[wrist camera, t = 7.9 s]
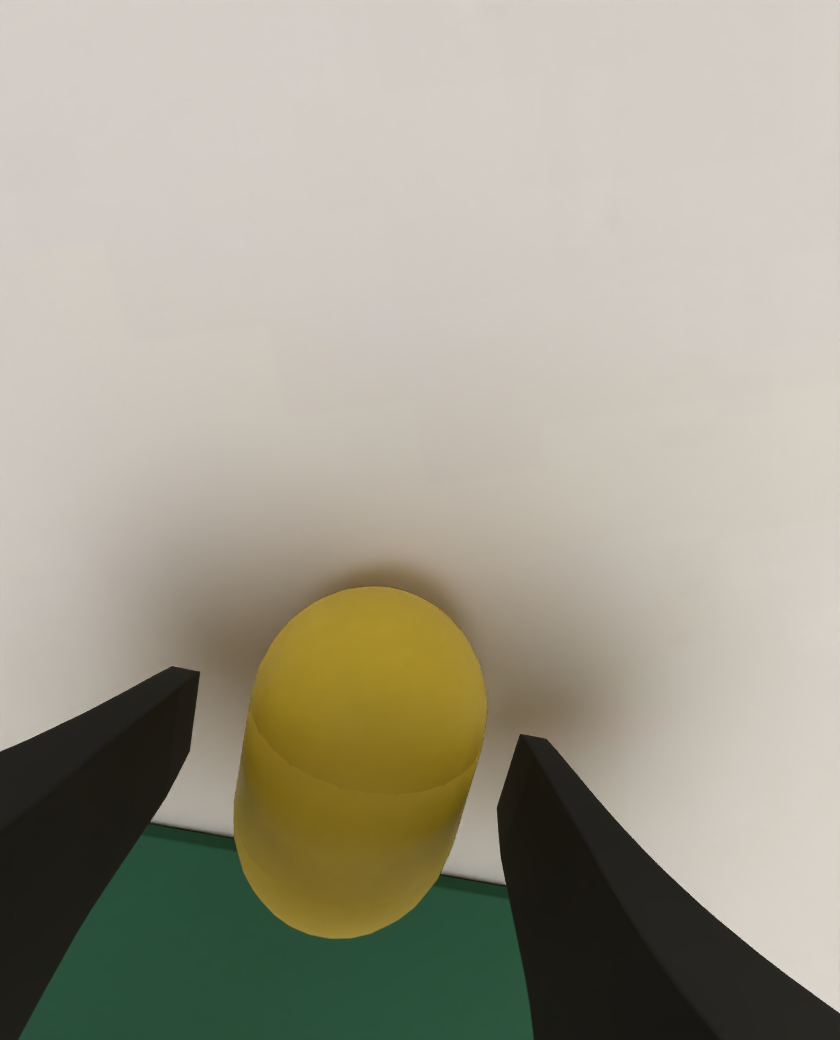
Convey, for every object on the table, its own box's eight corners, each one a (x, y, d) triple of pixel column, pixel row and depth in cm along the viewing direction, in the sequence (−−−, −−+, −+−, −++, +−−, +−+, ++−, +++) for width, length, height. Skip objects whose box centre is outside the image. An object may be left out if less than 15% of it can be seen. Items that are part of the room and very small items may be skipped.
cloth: (546, 1170, 18) (549, 1187, 17) (-34, 1086, 17) (-44, 1103, 16) (659, 913, 15) (666, 926, 15) (-32, 791, 14) (-45, 802, 13)
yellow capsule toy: (423, 809, 14) (443, 1013, 10) (250, 788, 14) (184, 995, 9) (486, 574, 13) (548, 687, 8) (292, 538, 12) (237, 636, 7)
